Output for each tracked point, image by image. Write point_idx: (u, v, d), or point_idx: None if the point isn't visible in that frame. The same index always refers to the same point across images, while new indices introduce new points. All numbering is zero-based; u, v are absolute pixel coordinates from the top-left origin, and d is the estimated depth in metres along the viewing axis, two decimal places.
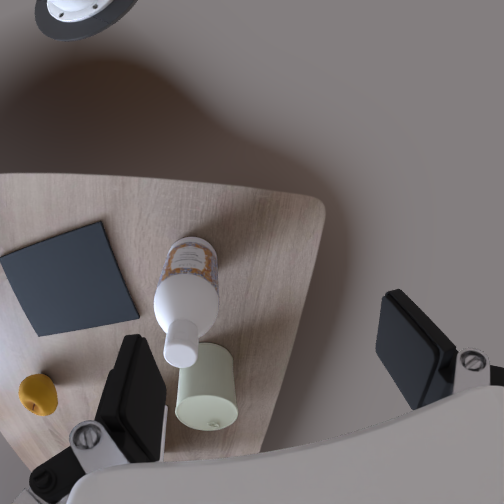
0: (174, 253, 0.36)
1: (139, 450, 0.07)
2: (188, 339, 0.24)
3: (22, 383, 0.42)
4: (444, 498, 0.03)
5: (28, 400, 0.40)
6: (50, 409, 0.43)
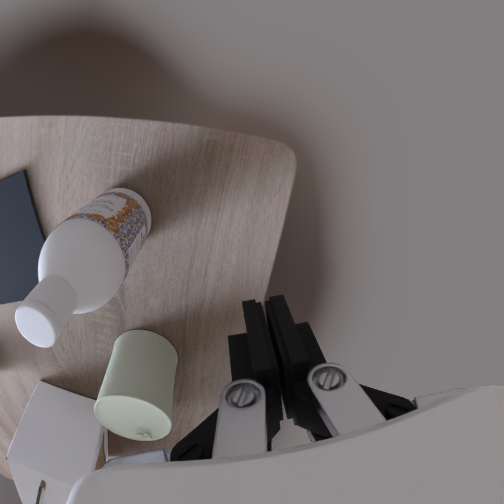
0: None
1: None
2: (46, 302, 0.13)
3: None
4: (444, 498, 0.03)
5: None
6: None
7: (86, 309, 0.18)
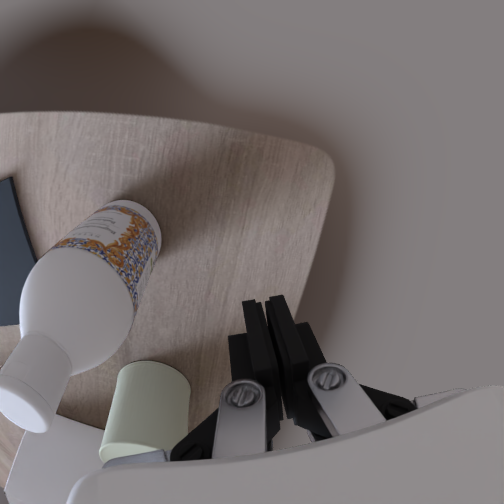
0: (85, 220, 0.20)
1: None
2: (29, 381, 0.08)
3: None
4: (444, 498, 0.03)
5: None
6: None
7: (85, 370, 0.13)
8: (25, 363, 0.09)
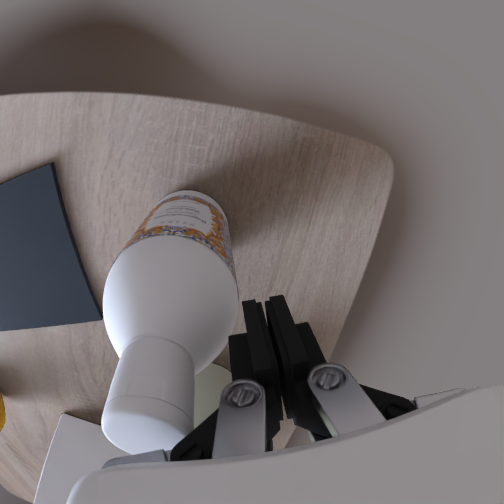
0: (157, 209, 0.20)
1: None
2: (168, 398, 0.08)
3: None
4: (444, 498, 0.03)
5: None
6: None
7: None
8: (156, 376, 0.08)
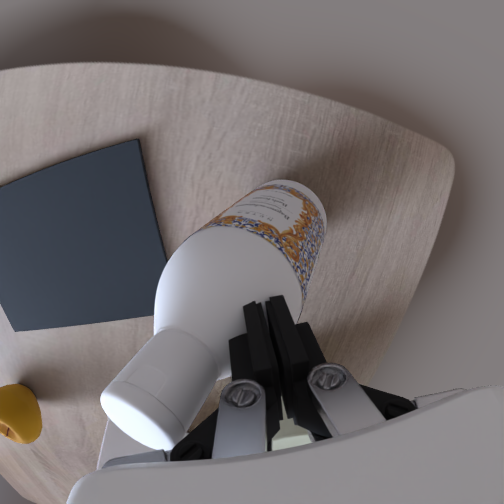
0: (247, 196, 0.20)
1: None
2: (164, 396, 0.08)
3: None
4: (444, 498, 0.03)
5: (0, 423, 0.24)
6: (31, 437, 0.26)
7: None
8: (162, 371, 0.08)
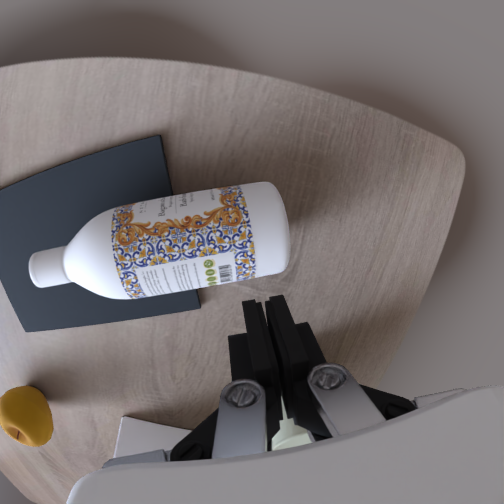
0: None
1: None
2: (36, 262, 0.19)
3: (1, 399, 0.25)
4: (444, 498, 0.03)
5: (10, 426, 0.24)
6: (42, 439, 0.26)
7: None
8: (43, 255, 0.20)
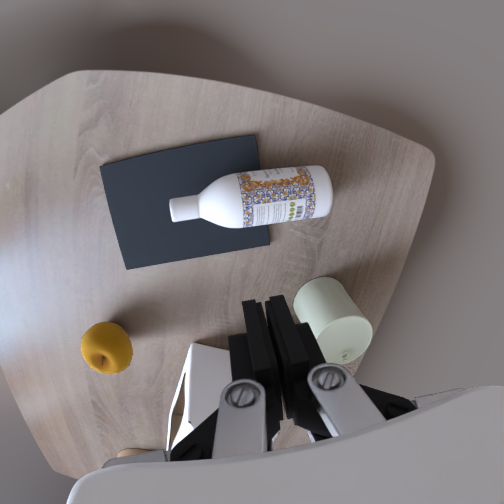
0: None
1: None
2: (176, 203, 0.36)
3: (90, 331, 0.42)
4: (444, 498, 0.03)
5: (98, 352, 0.40)
6: (125, 363, 0.43)
7: (211, 221, 0.37)
8: (181, 199, 0.36)
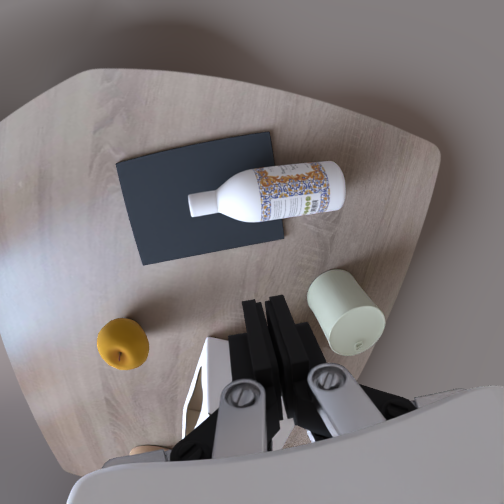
0: None
1: None
2: (195, 198, 0.37)
3: (107, 327, 0.43)
4: (444, 498, 0.03)
5: (115, 348, 0.42)
6: (142, 358, 0.44)
7: (229, 216, 0.39)
8: (200, 194, 0.37)
